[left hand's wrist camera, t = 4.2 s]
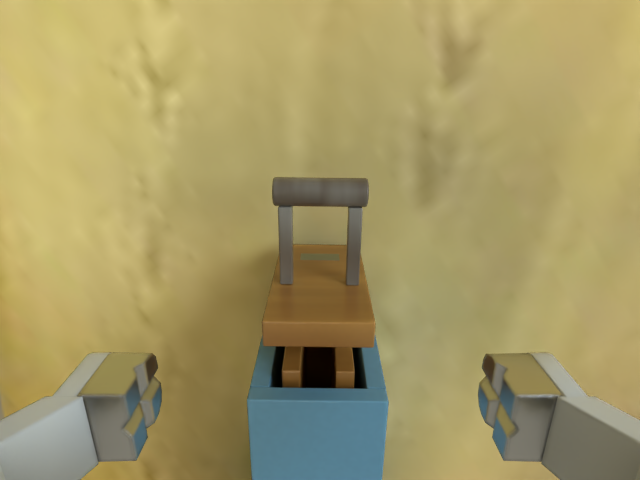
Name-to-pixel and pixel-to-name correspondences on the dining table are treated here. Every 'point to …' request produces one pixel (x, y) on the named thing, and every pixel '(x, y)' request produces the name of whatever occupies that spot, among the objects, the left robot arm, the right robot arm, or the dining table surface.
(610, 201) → the dining table surface
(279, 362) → the tall blue open box
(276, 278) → the drawer
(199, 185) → the dining table surface
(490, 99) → the dining table surface
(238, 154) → the dining table surface
